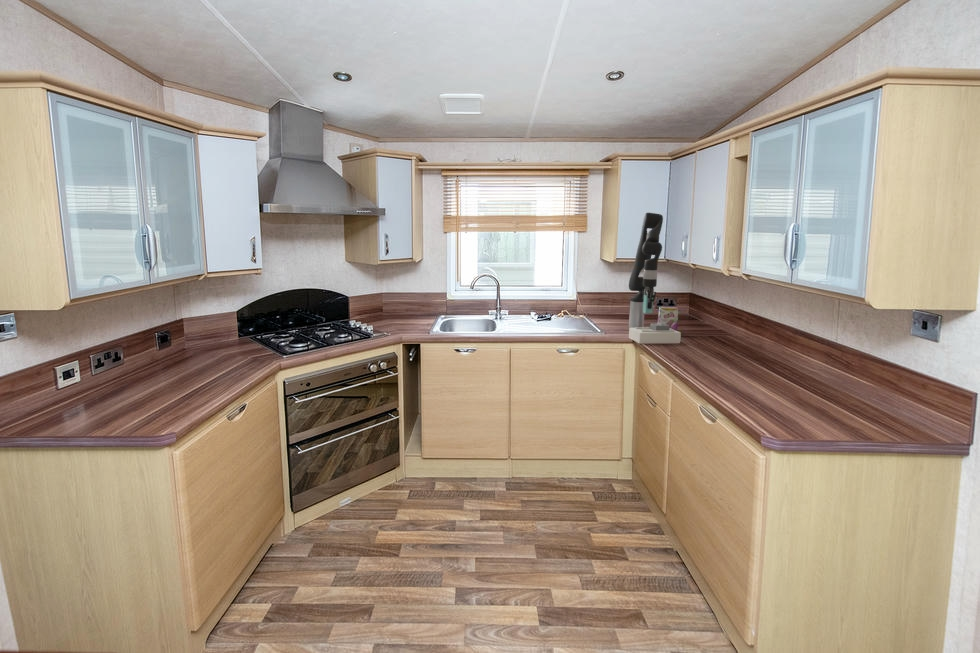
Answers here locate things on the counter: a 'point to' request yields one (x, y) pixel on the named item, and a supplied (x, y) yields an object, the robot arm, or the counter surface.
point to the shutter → (659, 326)
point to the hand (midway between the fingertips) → (647, 308)
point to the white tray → (654, 335)
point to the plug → (646, 305)
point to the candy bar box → (669, 316)
